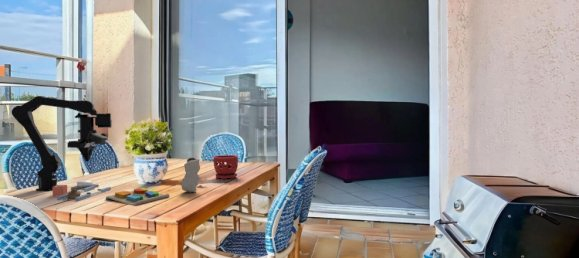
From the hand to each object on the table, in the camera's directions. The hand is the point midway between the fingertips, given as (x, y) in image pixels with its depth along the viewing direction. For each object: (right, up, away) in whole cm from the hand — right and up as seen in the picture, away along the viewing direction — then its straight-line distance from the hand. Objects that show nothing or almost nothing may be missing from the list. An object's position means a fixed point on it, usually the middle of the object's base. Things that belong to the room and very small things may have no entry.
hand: (87, 161), depth 174 cm
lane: (+7, -13, -14) cm, 20 cm away
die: (-3, -13, -16) cm, 21 cm away
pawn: (+6, -13, -21) cm, 26 cm away
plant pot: (+59, -12, +29) cm, 67 cm away
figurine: (+49, -13, -7) cm, 51 cm away
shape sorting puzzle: (+31, -14, -19) cm, 40 cm away
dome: (0, -11, -1) cm, 11 cm away
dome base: (0, -12, -1) cm, 12 cm away
